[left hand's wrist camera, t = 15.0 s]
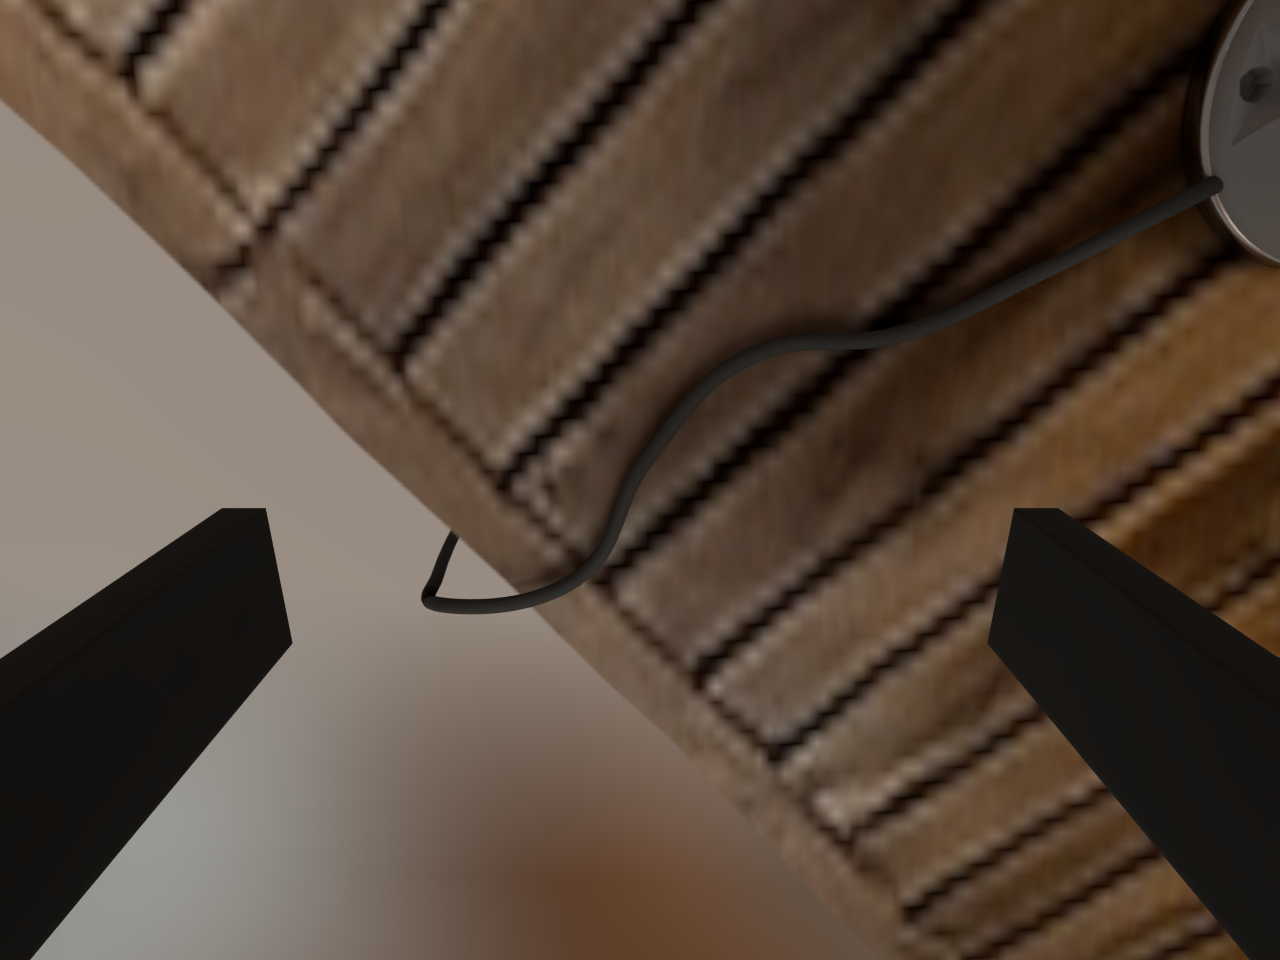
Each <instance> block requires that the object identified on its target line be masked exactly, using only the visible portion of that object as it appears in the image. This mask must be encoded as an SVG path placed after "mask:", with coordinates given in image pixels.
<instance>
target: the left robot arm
mask: <svg viewBox="0 0 1280 960" xmlns="http://www.w3.org/2000/svg"><path fill="white" fill-rule="evenodd" d="M1183 153H1184V164H1185V170H1186V175H1187V180H1188V184H1189V188H1187V189H1185V190H1183V191H1181V192H1179V193H1177V194H1175V195H1173V196H1171V197H1169V198H1167V199H1165V200H1163V201H1161V202H1159V203H1158V204H1156V205H1154V206H1152V207H1150V208H1148V209H1146V210H1144V211H1142V212H1140V213H1138V214H1136V215H1134V216H1132V217H1130V218H1128V219H1126V220H1124V221H1122V222H1120V223H1118V224H1116V225H1114V226H1112V227H1110V228H1108V229H1106V230H1104V231H1102V232H1100V233H1098V234H1097V235H1095V236H1093V237H1091V238H1089V239H1087V240H1085V241H1083V242H1081V243H1079V244H1077V245H1075V246H1073V247H1071V248H1069V249H1067V250H1065V251H1063V252H1061V253H1059V254H1057V255H1055V256H1053V257H1051V258H1049V259H1047V260H1044V261H1042V262H1040V263H1038V264H1036V265H1034V266H1032V267H1030V268H1028V269H1026V270H1024V271H1022V272H1020V273H1018V274H1016V275H1014V276H1012V277H1010V278H1008V279H1006V280H1004V281H1002V282H1000V283H998V284H996V285H994V286H992V287H990V288H988V289H986V290H984V291H982V292H980V293H978V294H976V295H974V296H972V297H970V298H968V299H966V300H964V301H962V302H960V303H958V304H956V305H954V306H951V307H949V308H947V309H944V310H942V311H940V312H937V313H935V314H932V315H930V316H927V317H924V318H921V319H919V320H916V321H913V322H910V323H907V324H903V325H900V326H896V327H892V328H888V329H884V330H878V331H871V332H860V333H810V334H797V335H789V336H783V337H779V338H774V339H771V340H767V341H764V342H761V343H758V344H756V345H754V346H752V347H750V348H747V349H745V350H743V351H741V352H740V353H738V354H736V355H734V356H732V357H731V358H729V359H728V360H726V361H725V362H723V363H721V364H720V365H719V366H717V367H716V368H715V369H713V370H712V371H711V372H709V373H708V374H707V375H706V376H705V377H704V378H702V379H701V380H700V381H699V382H698V383H697V384H696V385H695V386H694V387H693V388H692V389H691V390H690V391H689V392H688V393H687V395H686V396H685V397H684V398H683V399H682V400H681V402H680V403H679V404H678V405H677V406H676V408H675V409H674V410H673V411H672V413H671V414H670V415H669V417H668V418H667V419H666V421H665V422H664V423H663V425H662V426H661V427H660V429H659V430H658V432H657V433H656V434H655V436H654V437H653V438H652V440H651V441H650V442H649V444H648V445H647V446H646V448H645V449H644V450H643V452H642V453H641V454H640V456H639V457H638V459H637V460H636V462H635V463H634V465H633V466H632V468H631V470H630V472H629V473H628V475H627V477H626V479H625V481H624V483H623V485H622V488H621V490H620V493H619V495H618V498H617V500H616V503H615V506H614V508H613V511H612V514H611V517H610V520H609V522H608V525H607V527H606V530H605V532H604V535H603V537H602V539H601V541H600V543H599V544H598V546H597V548H596V550H595V551H594V552H593V554H592V555H591V556H590V558H589V559H588V560H587V561H586V562H585V563H584V564H583V565H582V566H580V567H579V568H578V569H577V570H575V571H574V572H573V573H571V574H570V575H568V576H566V577H565V578H563V579H561V580H559V581H557V582H555V583H553V584H551V585H548V586H546V587H543V588H541V589H538V590H535V591H531V592H528V593H524V594H519V595H514V596H508V597H502V598H492V599H452V598H442V597H436V593H437V591H438V590H439V588H440V586H441V584H442V581H443V578H444V575H445V572H446V569H447V566H448V563H449V560H450V558H451V555H452V553H453V550H454V548H455V546H456V544H457V542H458V539H459V537H458V536H457V535H456V534H454V532H453V531H451V530H450V532H449V534H448V536H447V538H446V540H445V542H444V544H443V546H442V548H441V551H440V553H439V555H438V557H437V560H436V563H435V565H434V568H433V571H432V574H431V576H430V578H429V580H428V582H427V583H426V585H425V587H424V589H423V591H422V595H421V601H422V603H423V605H424V606H425V607H426V608H428V609H430V610H433V611H437V612H443V613H452V614H492V613H501V612H509V611H515V610H520V609H525V608H529V607H533V606H536V605H539V604H543V603H545V602H548V601H551V600H553V599H556V598H558V597H560V596H562V595H564V594H566V593H568V592H570V591H572V590H573V589H575V588H576V587H578V586H580V585H581V584H582V583H584V582H585V581H586V580H588V579H589V578H590V577H591V576H592V575H593V574H594V573H595V572H596V571H597V570H598V569H599V568H600V567H601V566H602V565H603V563H604V562H605V561H606V559H607V558H608V556H609V554H610V553H611V551H612V549H613V547H614V545H615V543H616V541H617V539H618V537H619V534H620V532H621V529H622V526H623V524H624V521H625V518H626V516H627V513H628V510H629V507H630V505H631V502H632V500H633V497H634V495H635V493H636V491H637V489H638V487H639V485H640V483H641V481H642V479H643V478H644V476H645V474H646V473H647V471H648V470H649V468H650V467H651V466H652V464H653V463H654V461H655V460H656V459H657V457H658V456H659V455H660V454H661V452H662V451H663V450H664V448H665V447H666V446H667V444H668V443H669V442H670V440H671V439H672V437H673V436H674V435H675V433H676V432H677V431H678V429H679V428H680V427H681V426H682V424H683V423H684V422H685V420H686V419H687V418H688V417H689V415H690V414H691V413H692V412H693V411H694V409H695V408H696V407H697V406H698V405H699V404H700V403H701V402H702V401H703V400H704V399H705V398H706V397H707V396H708V395H709V394H710V393H711V392H712V391H713V390H714V389H715V388H717V387H718V386H719V385H720V384H722V383H723V382H724V381H726V380H727V379H728V378H730V377H731V376H733V375H734V374H736V373H737V372H739V371H741V370H743V369H744V368H746V367H748V366H750V365H752V364H754V363H756V362H758V361H761V360H763V359H765V358H768V357H771V356H774V355H778V354H782V353H787V352H794V351H802V350H849V349H867V348H876V347H882V346H888V345H893V344H897V343H901V342H905V341H908V340H911V339H914V338H917V337H920V336H923V335H926V334H929V333H932V332H934V331H937V330H940V329H942V328H945V327H947V326H950V325H952V324H954V323H957V322H959V321H961V320H963V319H966V318H968V317H970V316H972V315H974V314H976V313H978V312H980V311H982V310H984V309H986V308H988V307H990V306H992V305H994V304H996V303H998V302H1000V301H1002V300H1004V299H1006V298H1008V297H1010V296H1012V295H1014V294H1016V293H1018V292H1020V291H1022V290H1024V289H1026V288H1028V287H1030V286H1032V285H1034V284H1036V283H1038V282H1040V281H1042V280H1044V279H1047V278H1049V277H1051V276H1053V275H1055V274H1057V273H1059V272H1061V271H1063V270H1065V269H1068V268H1070V267H1072V266H1074V265H1076V264H1078V263H1080V262H1082V261H1084V260H1086V259H1088V258H1090V257H1092V256H1094V255H1096V254H1098V253H1100V252H1102V251H1104V250H1106V249H1108V248H1110V247H1112V246H1114V245H1116V244H1118V243H1120V242H1122V241H1124V240H1126V239H1128V238H1130V237H1132V236H1134V235H1136V234H1138V233H1140V232H1142V231H1144V230H1146V229H1148V228H1150V227H1152V226H1154V225H1156V224H1158V223H1160V222H1162V221H1164V220H1166V219H1168V218H1170V217H1172V216H1174V215H1176V214H1178V213H1180V212H1182V211H1184V210H1186V209H1188V208H1190V207H1192V206H1194V205H1197V208H1198V210H1199V211H1200V213H1201V215H1202V216H1203V218H1204V220H1205V221H1206V223H1207V224H1208V225H1209V226H1210V228H1211V229H1212V230H1213V232H1214V233H1215V234H1216V235H1217V236H1218V237H1219V238H1220V239H1221V240H1222V241H1223V242H1224V243H1226V244H1227V245H1228V246H1230V247H1231V248H1232V249H1234V250H1235V251H1237V252H1239V253H1240V254H1242V255H1244V256H1246V257H1247V258H1250V259H1252V260H1255V261H1257V262H1259V263H1263V264H1266V265H1270V266H1274V267H1279V268H1280V0H1232V1H1231V2H1230V4H1229V5H1228V7H1227V8H1226V10H1225V11H1224V13H1223V14H1222V16H1221V18H1220V19H1219V21H1218V23H1217V25H1216V26H1215V28H1214V30H1213V32H1212V34H1211V36H1210V37H1209V40H1208V42H1207V44H1206V46H1205V48H1204V51H1203V53H1202V55H1201V57H1200V60H1199V63H1198V66H1197V68H1196V71H1195V74H1194V77H1193V80H1192V84H1191V88H1190V91H1189V95H1188V100H1187V106H1186V111H1185V119H1184V129H1183ZM291 644H292V638H291V633H290V628H289V623H288V618H287V613H286V608H285V603H284V598H283V593H282V588H281V583H280V578H279V573H278V568H277V563H276V558H275V553H274V548H273V542H272V537H271V532H270V527H269V522H268V517H267V512H266V508H222V509H220V510H219V511H217V512H216V513H214V514H213V515H211V516H210V517H208V518H207V519H205V520H204V521H202V522H201V523H200V524H198V525H197V526H195V527H194V528H192V529H191V530H189V531H188V532H186V533H185V534H183V535H182V536H180V537H179V538H178V539H176V540H175V541H173V542H172V543H170V544H169V545H167V546H166V547H164V548H163V549H161V550H160V551H158V552H157V553H155V554H154V555H153V556H151V557H149V558H148V559H147V560H145V561H144V562H142V563H141V564H139V565H138V566H136V567H135V568H133V569H132V570H130V571H129V572H127V573H126V574H124V575H123V576H122V577H120V578H119V579H117V580H116V581H114V582H113V583H111V584H110V585H108V586H107V587H105V588H104V589H102V590H101V591H99V592H98V593H97V594H95V595H94V596H92V597H91V598H89V599H88V600H86V601H85V602H83V603H82V604H80V605H79V606H77V607H76V608H74V609H73V610H72V611H70V612H69V613H67V614H66V615H64V616H63V617H61V618H60V619H58V620H57V621H55V622H54V623H52V624H51V625H49V626H48V627H46V628H45V629H44V630H42V631H41V632H39V633H38V634H36V635H35V636H33V637H32V638H30V639H29V640H27V641H26V642H24V643H23V644H21V645H20V646H19V647H17V648H16V649H14V650H13V651H11V652H10V653H8V654H7V655H5V656H4V657H2V658H1V659H0V960H30V959H31V958H32V957H33V956H34V954H35V953H36V952H37V951H38V950H39V948H40V947H41V946H42V945H43V944H44V942H45V941H46V940H47V939H48V938H49V936H50V935H51V934H52V933H53V931H54V930H55V929H56V928H57V927H58V926H59V924H60V923H61V922H62V921H63V920H64V918H65V917H66V916H67V915H68V913H69V912H70V911H71V910H72V909H73V907H74V906H75V905H76V904H77V903H78V901H79V900H80V899H81V898H82V897H83V895H84V894H85V893H86V892H87V890H88V889H89V888H90V887H91V886H92V884H93V883H94V882H95V881H96V880H97V879H98V877H99V876H100V875H101V874H102V872H103V871H104V870H105V869H106V868H107V866H108V865H109V864H110V863H111V862H112V860H113V859H114V858H115V857H116V856H117V854H118V853H119V852H120V851H121V850H122V848H123V847H124V846H125V845H126V843H127V842H128V841H129V840H130V839H131V838H132V836H133V835H134V834H135V833H136V831H137V830H138V829H139V828H140V827H141V825H142V824H143V823H144V822H145V821H146V819H147V818H148V817H149V816H150V815H151V813H152V812H153V811H154V810H155V809H156V807H157V806H158V805H159V804H160V802H161V801H162V800H163V799H164V798H165V796H166V795H167V794H168V793H169V792H170V790H171V789H172V788H173V787H174V786H175V784H176V783H177V782H178V781H179V780H180V778H181V777H182V776H183V775H184V774H185V772H186V771H187V770H188V769H189V768H190V766H191V765H192V764H193V763H194V762H195V760H196V759H197V758H198V757H199V755H200V754H201V753H202V752H203V751H204V749H205V748H206V747H207V746H208V745H209V743H210V742H211V741H212V740H213V739H214V737H215V736H216V735H217V734H218V733H219V731H220V730H221V729H222V728H223V727H224V725H225V724H226V723H227V722H228V721H229V719H230V718H231V717H232V716H233V714H234V713H235V712H236V711H237V710H238V708H239V707H240V706H241V705H242V704H243V702H244V701H245V700H246V699H247V698H248V696H249V695H250V694H251V693H252V692H253V690H254V689H255V688H256V687H257V686H258V684H259V683H260V682H261V681H262V679H263V678H264V677H265V676H266V675H267V673H268V672H269V671H270V670H271V669H272V667H273V666H274V665H275V664H276V663H277V661H278V660H279V659H280V658H281V657H282V655H283V654H284V653H285V652H286V651H287V649H288V648H289V647H290V646H291ZM988 645H989V646H990V647H991V648H992V649H993V651H994V652H995V653H996V654H997V655H998V657H999V658H1000V659H1001V660H1002V661H1003V663H1004V664H1005V665H1006V666H1007V667H1008V669H1009V670H1010V671H1011V672H1012V673H1013V675H1014V676H1015V677H1016V678H1017V680H1018V681H1019V682H1020V683H1021V684H1022V686H1023V687H1024V688H1025V689H1026V690H1027V692H1028V693H1029V694H1030V695H1031V696H1032V698H1033V699H1034V700H1035V701H1036V702H1037V704H1038V705H1039V706H1040V707H1041V708H1042V710H1043V711H1044V712H1045V713H1046V714H1047V716H1048V717H1049V718H1050V719H1051V721H1052V722H1053V723H1054V724H1055V725H1056V727H1057V728H1058V729H1059V730H1060V731H1061V733H1062V734H1063V735H1064V736H1065V737H1066V739H1067V740H1068V741H1069V742H1070V743H1071V745H1072V746H1073V747H1074V748H1075V749H1076V751H1077V752H1078V753H1079V754H1080V755H1081V757H1082V758H1083V759H1084V760H1085V762H1086V763H1087V764H1088V765H1089V766H1090V768H1091V769H1092V770H1093V771H1094V772H1095V774H1096V775H1097V776H1098V777H1099V778H1100V780H1101V781H1102V782H1103V783H1104V784H1105V786H1106V787H1107V788H1108V789H1109V790H1110V792H1111V793H1112V794H1113V795H1114V797H1115V798H1116V799H1117V800H1118V801H1119V803H1120V804H1121V805H1122V806H1123V807H1124V809H1125V810H1126V811H1127V812H1128V813H1129V815H1130V816H1131V817H1132V818H1133V819H1134V821H1135V822H1136V823H1137V824H1138V825H1139V827H1140V828H1141V829H1142V830H1143V831H1144V833H1145V834H1146V835H1147V836H1148V838H1149V839H1150V840H1151V841H1152V842H1153V844H1154V845H1155V846H1156V847H1157V848H1158V850H1159V851H1160V852H1161V853H1162V854H1163V856H1164V857H1165V858H1166V859H1167V860H1168V862H1169V863H1170V864H1171V865H1172V866H1173V868H1174V869H1175V870H1176V871H1177V872H1178V874H1179V875H1180V876H1181V877H1182V879H1183V880H1184V881H1185V882H1186V883H1187V885H1188V886H1189V887H1190V888H1191V889H1192V891H1193V892H1194V893H1195V894H1196V895H1197V897H1198V898H1199V899H1200V900H1201V901H1202V903H1203V904H1204V905H1205V906H1206V907H1207V909H1208V910H1209V911H1210V912H1211V913H1212V915H1213V916H1214V917H1215V918H1216V920H1217V921H1218V922H1219V923H1220V924H1221V926H1222V927H1223V928H1224V929H1225V930H1226V932H1227V933H1228V934H1229V935H1230V936H1231V938H1232V939H1233V940H1234V941H1235V942H1236V944H1237V945H1238V946H1239V947H1240V948H1241V950H1242V951H1243V952H1244V953H1245V955H1246V956H1247V957H1248V958H1249V959H1250V960H1280V658H1279V657H1277V656H1275V655H1273V654H1272V653H1270V652H1269V651H1267V650H1266V649H1264V648H1263V647H1261V646H1260V645H1259V644H1257V643H1256V642H1254V641H1253V640H1251V639H1250V638H1248V637H1247V636H1245V635H1244V634H1242V633H1241V632H1239V631H1238V630H1236V629H1235V628H1234V627H1232V626H1231V625H1229V624H1228V623H1226V622H1225V621H1223V620H1222V619H1220V618H1219V617H1217V616H1216V615H1214V614H1213V613H1211V612H1210V611H1209V610H1207V609H1206V608H1204V607H1203V606H1201V605H1200V604H1198V603H1197V602H1195V601H1194V600H1192V599H1191V598H1189V597H1188V596H1186V595H1185V594H1183V593H1182V592H1181V591H1179V590H1178V589H1176V588H1175V587H1173V586H1172V585H1170V584H1169V583H1167V582H1166V581H1164V580H1163V579H1161V578H1160V577H1158V576H1157V575H1156V574H1154V573H1153V572H1151V571H1150V570H1148V569H1147V568H1145V567H1144V566H1142V565H1141V564H1139V563H1138V562H1136V561H1135V560H1133V559H1132V558H1131V557H1129V556H1128V555H1126V554H1125V553H1123V552H1122V551H1120V550H1119V549H1117V548H1116V547H1114V546H1113V545H1111V544H1110V543H1108V542H1107V541H1105V540H1104V539H1103V538H1101V537H1100V536H1098V535H1097V534H1095V533H1094V532H1092V531H1091V530H1089V529H1088V528H1086V527H1085V526H1083V525H1082V524H1080V523H1079V522H1078V521H1076V520H1075V519H1073V518H1072V517H1070V516H1069V515H1067V514H1066V513H1064V512H1063V511H1061V510H1060V509H1058V508H1014V512H1013V517H1012V522H1011V527H1010V532H1009V537H1008V542H1007V548H1006V553H1005V558H1004V563H1003V568H1002V573H1001V578H1000V583H999V588H998V593H997V598H996V603H995V608H994V613H993V618H992V623H991V628H990V633H989V638H988Z"/></svg>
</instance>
